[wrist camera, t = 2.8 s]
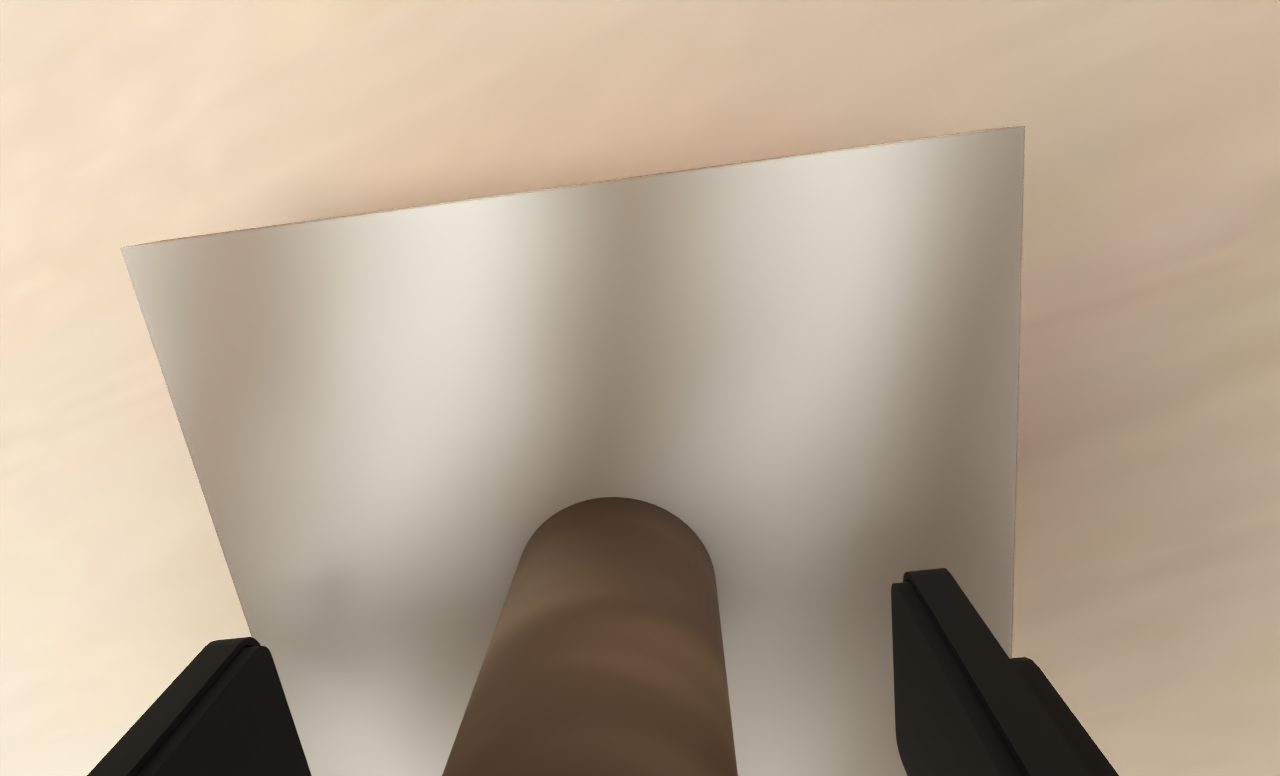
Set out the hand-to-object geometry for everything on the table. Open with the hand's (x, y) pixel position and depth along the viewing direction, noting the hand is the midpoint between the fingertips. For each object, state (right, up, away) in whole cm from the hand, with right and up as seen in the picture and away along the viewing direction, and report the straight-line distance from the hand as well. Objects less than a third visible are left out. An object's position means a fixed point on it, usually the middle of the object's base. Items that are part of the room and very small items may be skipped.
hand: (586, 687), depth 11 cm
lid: (0, +1, +3) cm, 4 cm away
